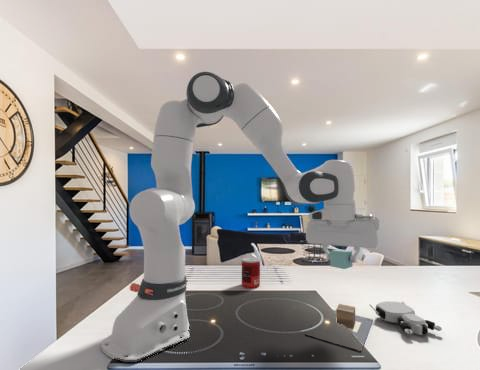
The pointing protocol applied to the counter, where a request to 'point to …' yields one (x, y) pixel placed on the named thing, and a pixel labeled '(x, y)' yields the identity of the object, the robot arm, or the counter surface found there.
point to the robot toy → (404, 317)
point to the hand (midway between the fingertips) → (341, 260)
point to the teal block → (340, 258)
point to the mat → (361, 327)
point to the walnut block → (345, 315)
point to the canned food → (250, 272)
